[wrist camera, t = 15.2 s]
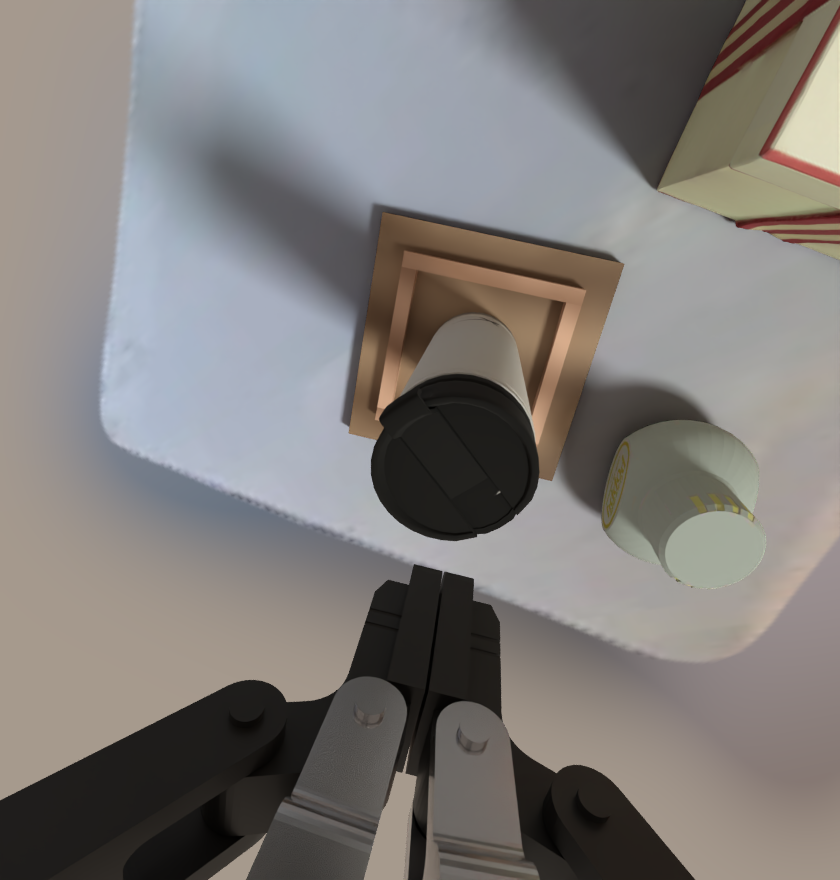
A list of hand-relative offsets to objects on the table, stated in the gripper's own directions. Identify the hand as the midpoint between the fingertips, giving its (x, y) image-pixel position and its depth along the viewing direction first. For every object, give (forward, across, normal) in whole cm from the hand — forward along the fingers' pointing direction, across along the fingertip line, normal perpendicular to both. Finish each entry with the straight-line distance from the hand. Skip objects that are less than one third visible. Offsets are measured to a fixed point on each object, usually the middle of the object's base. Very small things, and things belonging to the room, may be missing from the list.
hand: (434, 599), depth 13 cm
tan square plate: (+27, 0, 0) cm, 27 cm away
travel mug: (+26, 0, 0) cm, 26 cm away
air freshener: (+28, -16, +6) cm, 32 cm away
